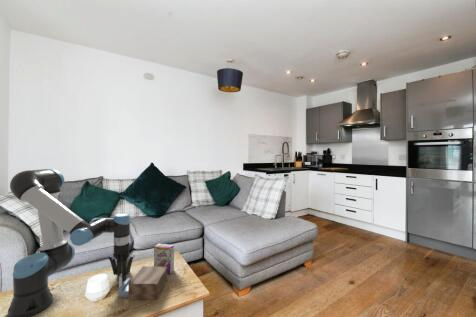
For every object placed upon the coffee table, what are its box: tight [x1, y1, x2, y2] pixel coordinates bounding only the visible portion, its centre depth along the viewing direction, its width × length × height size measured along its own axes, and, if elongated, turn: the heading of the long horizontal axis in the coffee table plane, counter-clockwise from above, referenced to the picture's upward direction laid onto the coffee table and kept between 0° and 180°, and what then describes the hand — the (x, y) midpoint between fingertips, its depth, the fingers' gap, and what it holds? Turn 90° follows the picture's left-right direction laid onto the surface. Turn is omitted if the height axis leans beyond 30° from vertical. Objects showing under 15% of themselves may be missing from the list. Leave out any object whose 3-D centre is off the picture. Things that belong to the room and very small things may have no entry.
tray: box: [117, 277, 132, 297], centre depth 114 cm, size 14×10×4 cm
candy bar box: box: [153, 243, 175, 275], centre depth 132 cm, size 11×5×16 cm, turn 80°
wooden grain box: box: [128, 265, 168, 301], centre depth 114 cm, size 14×16×8 cm
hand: (121, 286), depth 114 cm, fingers closed
